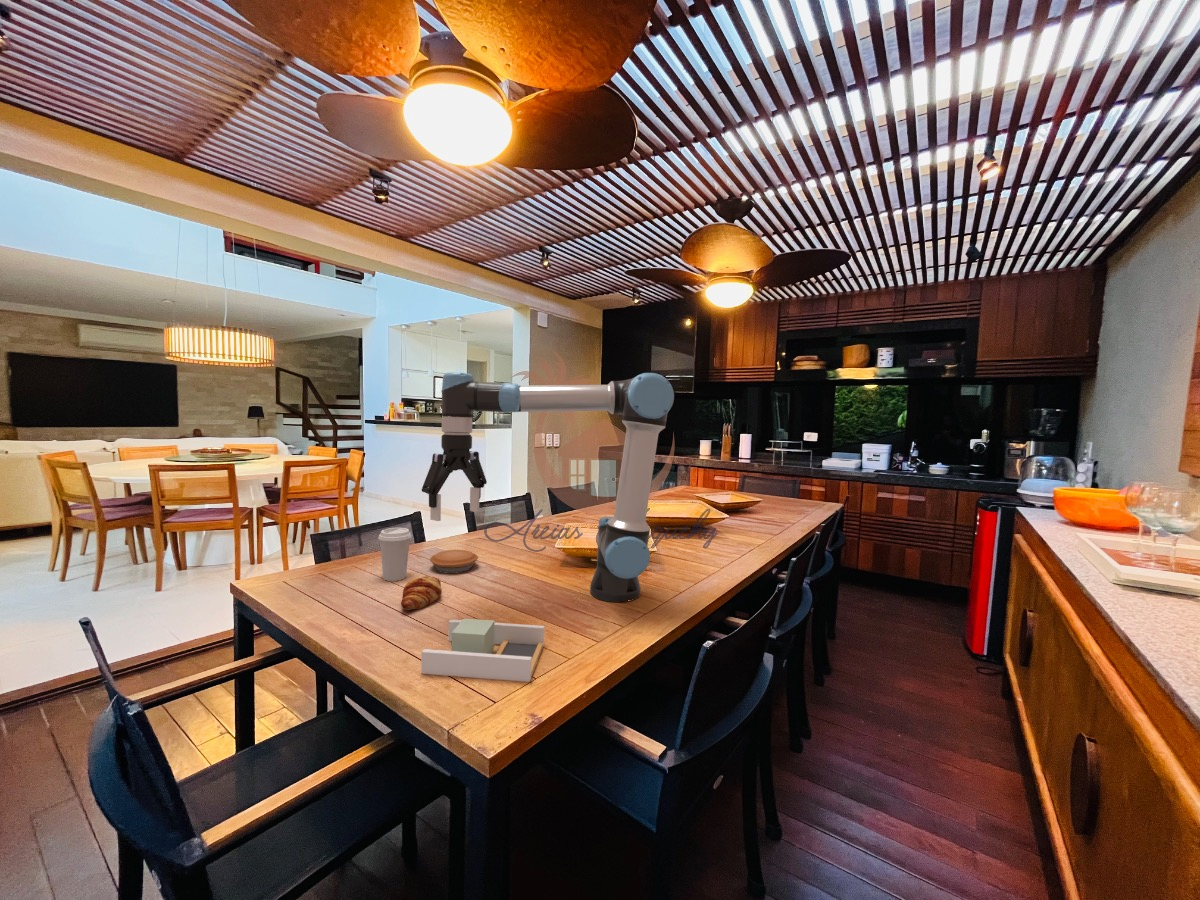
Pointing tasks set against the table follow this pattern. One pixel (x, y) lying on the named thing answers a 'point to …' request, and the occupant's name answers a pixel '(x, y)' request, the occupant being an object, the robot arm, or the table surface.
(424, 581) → the croissant
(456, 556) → the pie
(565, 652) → the table surface
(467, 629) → the block
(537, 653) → the drawer
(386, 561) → the coffee cup
